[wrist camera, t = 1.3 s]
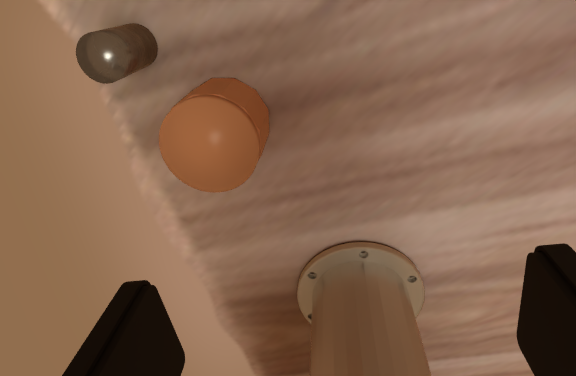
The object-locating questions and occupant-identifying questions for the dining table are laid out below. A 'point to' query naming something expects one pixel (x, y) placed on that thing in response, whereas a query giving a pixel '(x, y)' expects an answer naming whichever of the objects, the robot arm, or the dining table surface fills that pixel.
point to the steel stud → (116, 52)
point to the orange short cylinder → (215, 135)
